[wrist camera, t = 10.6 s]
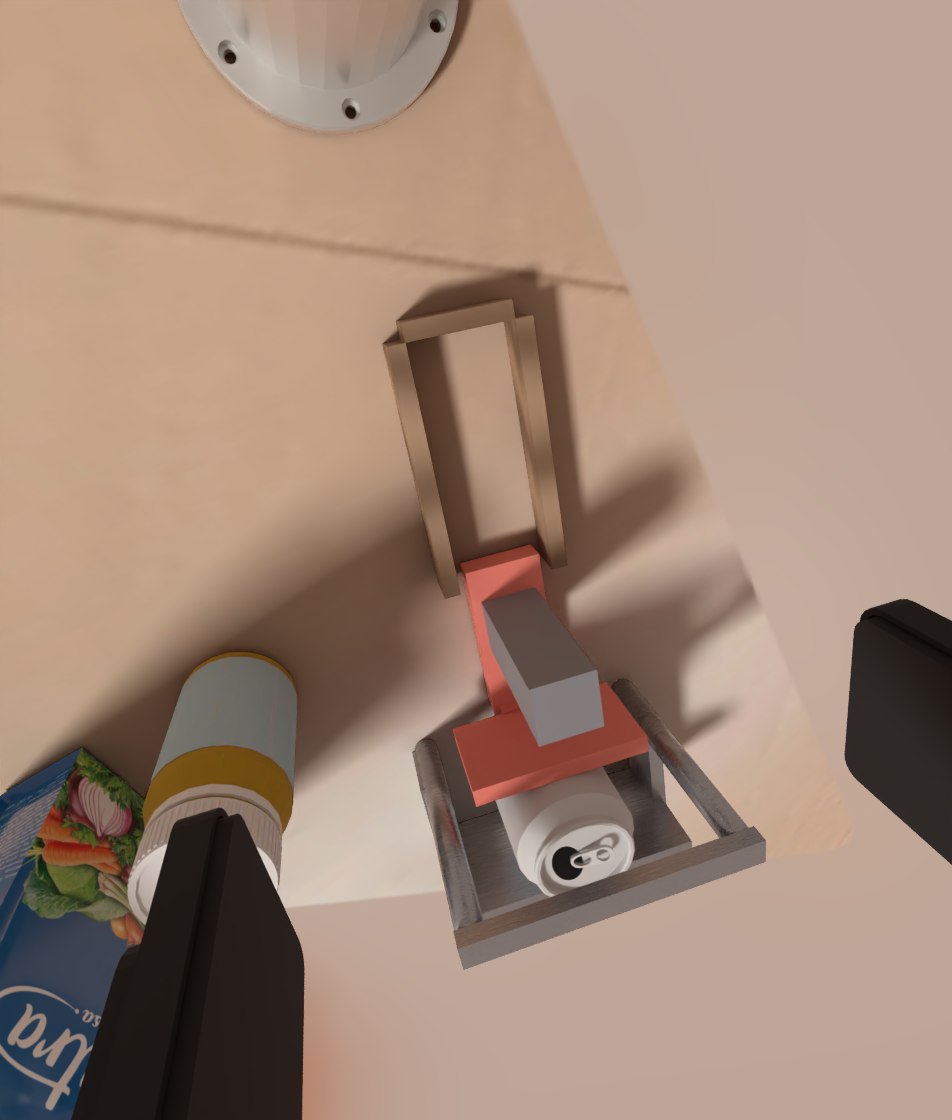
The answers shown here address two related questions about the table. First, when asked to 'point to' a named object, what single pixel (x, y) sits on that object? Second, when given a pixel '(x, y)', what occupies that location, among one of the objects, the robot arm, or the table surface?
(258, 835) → the bottle
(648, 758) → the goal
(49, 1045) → the blue food package
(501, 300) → the brown wooden rectangular frame
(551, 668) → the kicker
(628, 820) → the can
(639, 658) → the table surface
